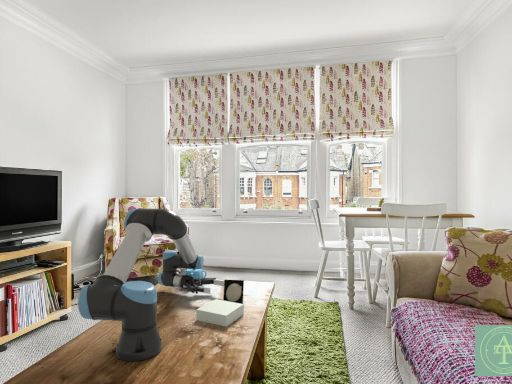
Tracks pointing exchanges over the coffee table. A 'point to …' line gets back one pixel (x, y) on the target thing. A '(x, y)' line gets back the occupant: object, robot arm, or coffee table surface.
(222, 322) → the sage block
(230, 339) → the coffee table surface
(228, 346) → the coffee table surface
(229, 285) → the decorative object
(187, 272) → the blue ceramic pot
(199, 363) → the coffee table surface
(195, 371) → the coffee table surface
